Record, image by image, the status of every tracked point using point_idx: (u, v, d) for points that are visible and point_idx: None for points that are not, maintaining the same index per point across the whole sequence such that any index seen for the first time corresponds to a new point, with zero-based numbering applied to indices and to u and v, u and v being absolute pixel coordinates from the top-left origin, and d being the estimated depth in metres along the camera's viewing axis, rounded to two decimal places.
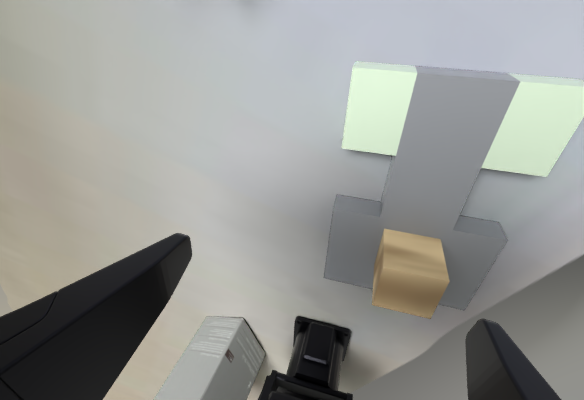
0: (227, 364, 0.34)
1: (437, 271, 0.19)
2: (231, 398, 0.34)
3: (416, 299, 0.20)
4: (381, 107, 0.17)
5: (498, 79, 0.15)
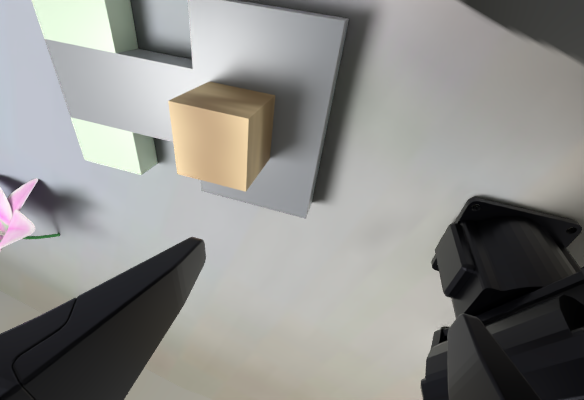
0: None
1: None
2: None
3: (215, 138, 0.14)
4: (101, 142, 0.22)
5: (52, 55, 0.19)
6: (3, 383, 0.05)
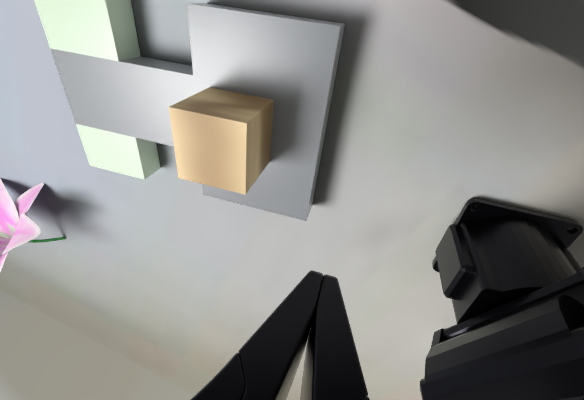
0: None
1: None
2: None
3: (214, 142, 0.14)
4: (105, 148, 0.22)
5: (58, 64, 0.19)
6: None
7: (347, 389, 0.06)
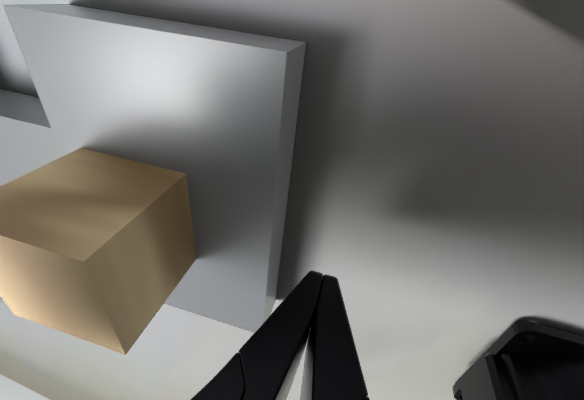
0: None
1: None
2: None
3: (43, 280, 0.07)
4: None
5: None
6: None
7: (347, 389, 0.06)
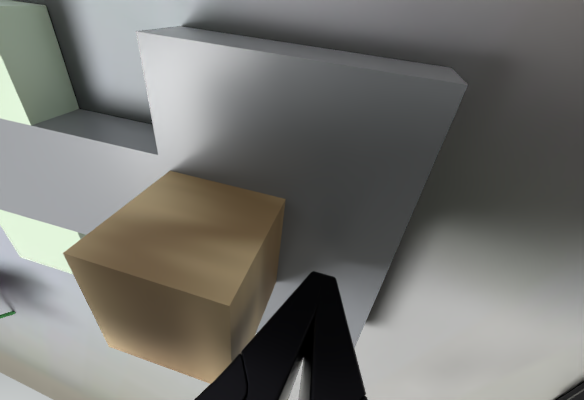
0: None
1: None
2: None
3: (165, 319, 0.07)
4: (36, 239, 0.14)
5: None
6: None
7: (345, 388, 0.06)
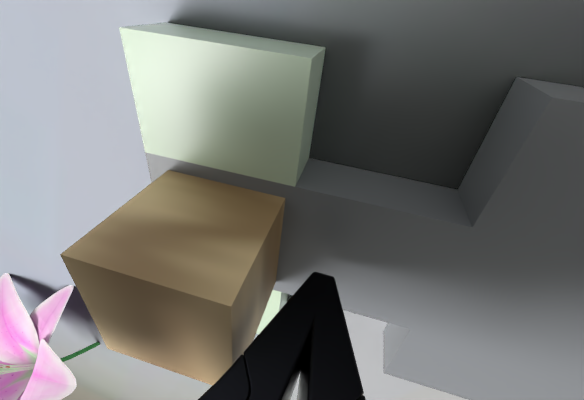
0: None
1: None
2: None
3: (165, 320, 0.07)
4: None
5: None
6: None
7: (343, 387, 0.06)
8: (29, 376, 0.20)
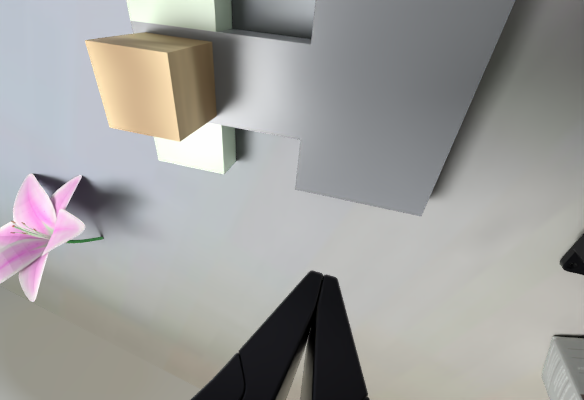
0: None
1: None
2: None
3: (138, 80, 0.13)
4: None
5: None
6: None
7: (347, 389, 0.06)
8: None
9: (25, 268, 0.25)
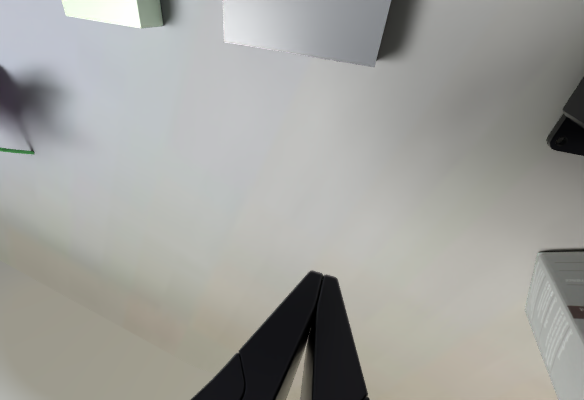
0: None
1: None
2: None
3: None
4: None
5: None
6: None
7: (347, 389, 0.06)
8: None
9: None
